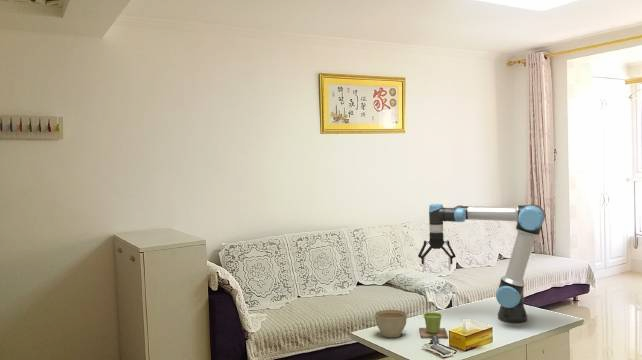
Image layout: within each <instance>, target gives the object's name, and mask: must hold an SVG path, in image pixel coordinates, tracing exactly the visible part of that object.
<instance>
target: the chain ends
mask: <svg viewBox="0 0 642 360" xmlns="http://www.w3.org/2000/svg"><path fill="white" fill-rule="evenodd" d="M430 339H431V342H432V341H433V342H434V343H439V344H440V340H439V339H438V337H437V335H432V337H431V338H430Z"/></svg>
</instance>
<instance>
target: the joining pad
mask: <svg viewBox="0 0 642 360" xmlns="http://www.w3.org/2000/svg"><path fill="white" fill-rule="evenodd" d="M418 329H419V335H420V339H431V337H432V335H437V337H438V340H439V339H445V340H446V339H449V335H448V333H447V330H446V328H445V327H440V329H439V332H438V333H430V332H429V333H428V332H427V329H426V327H419V328H418Z"/></svg>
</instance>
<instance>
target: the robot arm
mask: <svg viewBox="0 0 642 360" xmlns="http://www.w3.org/2000/svg"><path fill="white" fill-rule="evenodd" d="M428 207H429V208H428V219H429V220H428V222H429V223H428V224H429V228H428V229H429V240H424V241H423V245H422V247H421V249H420V251H419V253H418V255H417V257H418V259H421V265H423V271H425V272H426V256H427V255H428V254H429V253H430V252H431V250H440V249H442V250H443V252H444V254H446V255H447V256H448V257H449V258H448V262H447V263H448V271H449V272H450V271H452V270H451V267H452V266H451V265H453V259H454V258H456V257H457V256H456V254H455V252H454V250H453V249H452V246H451V244H450V240H449V239H448V240H444V222H454V223H462V222H465V221H466V220H469V221H470V220H473V221H475V220H476V221H496V222H497V221H498V222H499V221H500V222H501V221H502V222H504V221H505V222H516V225H515V226H516V227H515V229H516V231H517V234H516V238H515V241H514V244H513V247H512V252H511V255H510V259H509V262H508V266H507V268H506V271H505V275H504V276H501V278H500V280H499V281H500V282H499V285H498V289H496V292H495V298H496V301H497V302H498V304H499V305H500V306H499V310H498V313H497V319H498V320H500V321H502V322H506V323H512V324H514V323H515V324H517V323H525V322H527V321H528V313H527V311H526V308H525V305H524V303H525V301H524V300H525V299H524V297H525V296H524V287H525V282H524V276H525V272H526V270H527V267H528V266H527V265H528V264H529V260H530V256H531V252H532V250H533V246H534V242H535V238H536V237H538V236H539V235H540V233H541V230H542V227H543V223H544V221H545V219H546V213H545V211H544V209H543V207H541V206H540V205H537V204H524V205H523V204H521V205H520V204H519V205H516V206H515V207H514V206H483V205H482V206H480V205H479V206H478V205H477V206H476V205H474V206H473V205H471V206H470V205H456V206H453V207H444V205H443V203H431V204H429V206H428ZM444 244H445V245H447V247H448V249H449V251H450V253H449V251H448V250H447V249H446V248H445V247H444ZM427 245H429V246H428V248H427V249H426V251H425V248H426V247H427Z"/></svg>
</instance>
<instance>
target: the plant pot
mask: <svg viewBox="0 0 642 360" xmlns="http://www.w3.org/2000/svg"><path fill="white" fill-rule="evenodd" d="M422 316H423V318H424V321H425V322H424V323H425V326H426V327H425V328H426V329H427V332H428V333H429V332H430V333H438V332H439V329H440V328H441V319H442V317H443V314H442V313H439V312H432V311H431V312H429V311H428V312H424V313H423V314H422Z"/></svg>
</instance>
